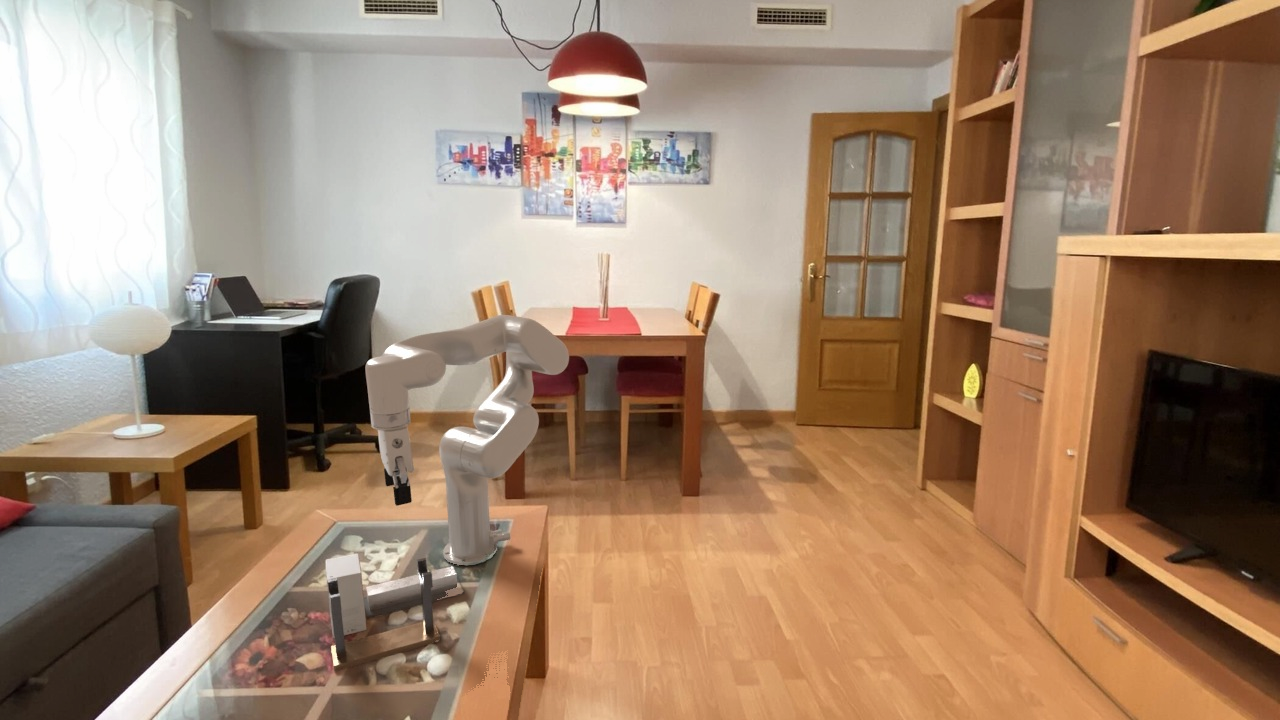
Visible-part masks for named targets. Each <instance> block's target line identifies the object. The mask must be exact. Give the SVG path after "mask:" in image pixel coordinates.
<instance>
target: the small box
mask: <svg viewBox="0 0 1280 720" xmlns="http://www.w3.org/2000/svg"><path fill="white" fill-rule="evenodd" d="M360 561H361V560H360V555H359V553H354V554H353V553H352V554H349V555H343V556H337V557H331V558H326V559H325V575H326V585H327V586H326V587H327V595H328V604H329V615H330V625H331V633H332V638H333V639H334V630H333V621H332V613H331V604H330V596H329V588H328V580H331V579H335V578H337V582H338V590H339V593H340V600H341V609H342V610H341V613H342V622H343V631H344V636H347V635H350V634H355V633H359V632H364V631H366V630H367V619H366V616H365V606H364V598H365V596H364V586H363V576H362V575H363V574H362V568H361V562H360Z"/></svg>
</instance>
